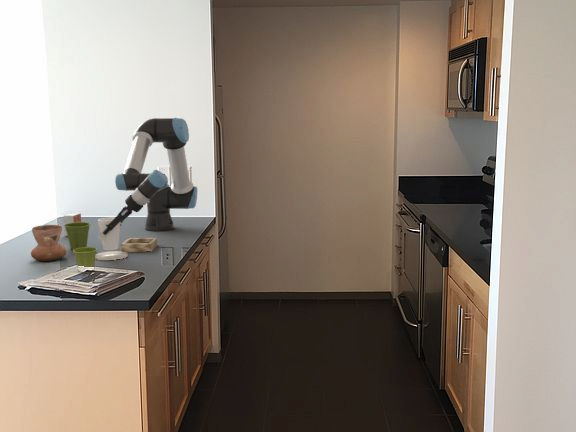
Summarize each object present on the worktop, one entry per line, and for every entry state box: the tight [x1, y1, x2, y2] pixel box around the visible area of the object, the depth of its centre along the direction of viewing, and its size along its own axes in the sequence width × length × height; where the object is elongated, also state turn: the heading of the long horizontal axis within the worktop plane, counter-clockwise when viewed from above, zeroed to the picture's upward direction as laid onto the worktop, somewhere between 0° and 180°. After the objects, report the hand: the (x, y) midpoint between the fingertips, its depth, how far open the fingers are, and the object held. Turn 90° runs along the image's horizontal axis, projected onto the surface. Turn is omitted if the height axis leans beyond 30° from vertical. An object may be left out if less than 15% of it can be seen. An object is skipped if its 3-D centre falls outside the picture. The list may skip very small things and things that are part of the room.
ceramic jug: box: [30, 224, 67, 262], centre depth 290 cm, size 18×14×14 cm
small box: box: [62, 212, 82, 237], centre depth 342 cm, size 8×6×10 cm
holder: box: [120, 237, 158, 253], centre depth 309 cm, size 13×13×4 cm
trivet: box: [95, 250, 129, 261], centre depth 293 cm, size 14×14×1 cm
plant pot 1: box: [63, 221, 91, 250], centre depth 311 cm, size 12×12×11 cm
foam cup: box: [97, 216, 122, 251], centre depth 291 cm, size 10×9×13 cm
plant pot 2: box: [72, 246, 98, 268], centre depth 270 cm, size 9×9×9 cm
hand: (102, 236), depth 291 cm, fingers closed on foam cup, 9 cm apart
